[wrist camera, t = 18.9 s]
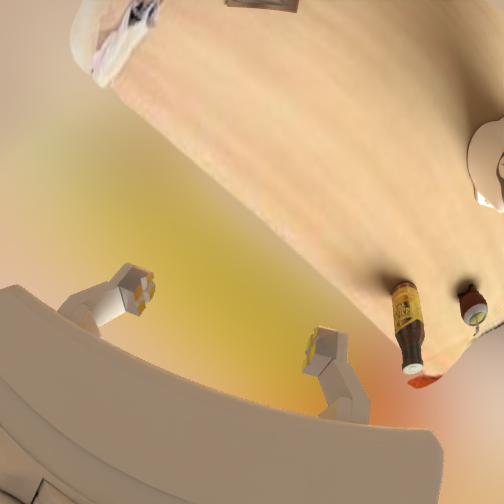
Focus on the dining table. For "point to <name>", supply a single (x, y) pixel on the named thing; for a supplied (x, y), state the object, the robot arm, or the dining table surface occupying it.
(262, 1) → the box
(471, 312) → the mate gourd
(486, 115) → the dining table surface
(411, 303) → the sauce bottle
